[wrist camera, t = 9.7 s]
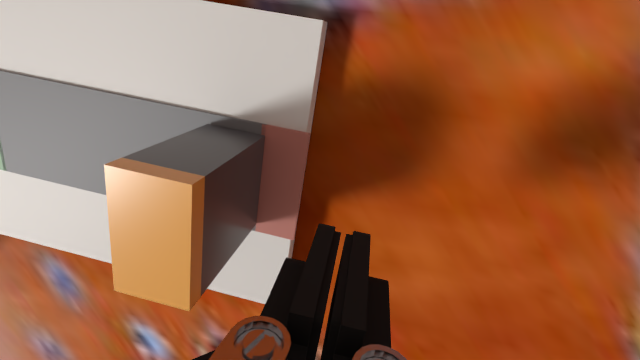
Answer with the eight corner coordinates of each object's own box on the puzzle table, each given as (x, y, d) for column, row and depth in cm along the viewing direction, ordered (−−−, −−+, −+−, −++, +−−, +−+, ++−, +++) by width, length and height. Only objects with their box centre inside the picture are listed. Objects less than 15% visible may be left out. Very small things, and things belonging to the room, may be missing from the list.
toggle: (265, 135, 17) (192, 184, 10) (256, 224, 19) (189, 311, 12) (208, 123, 17) (103, 164, 11) (204, 211, 19) (114, 290, 13)
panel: (331, 23, 16) (327, 20, 15) (289, 296, 22) (282, 311, 20) (-44, -39, 18) (-77, -46, 17) (10, 223, 24) (-11, 233, 23)
